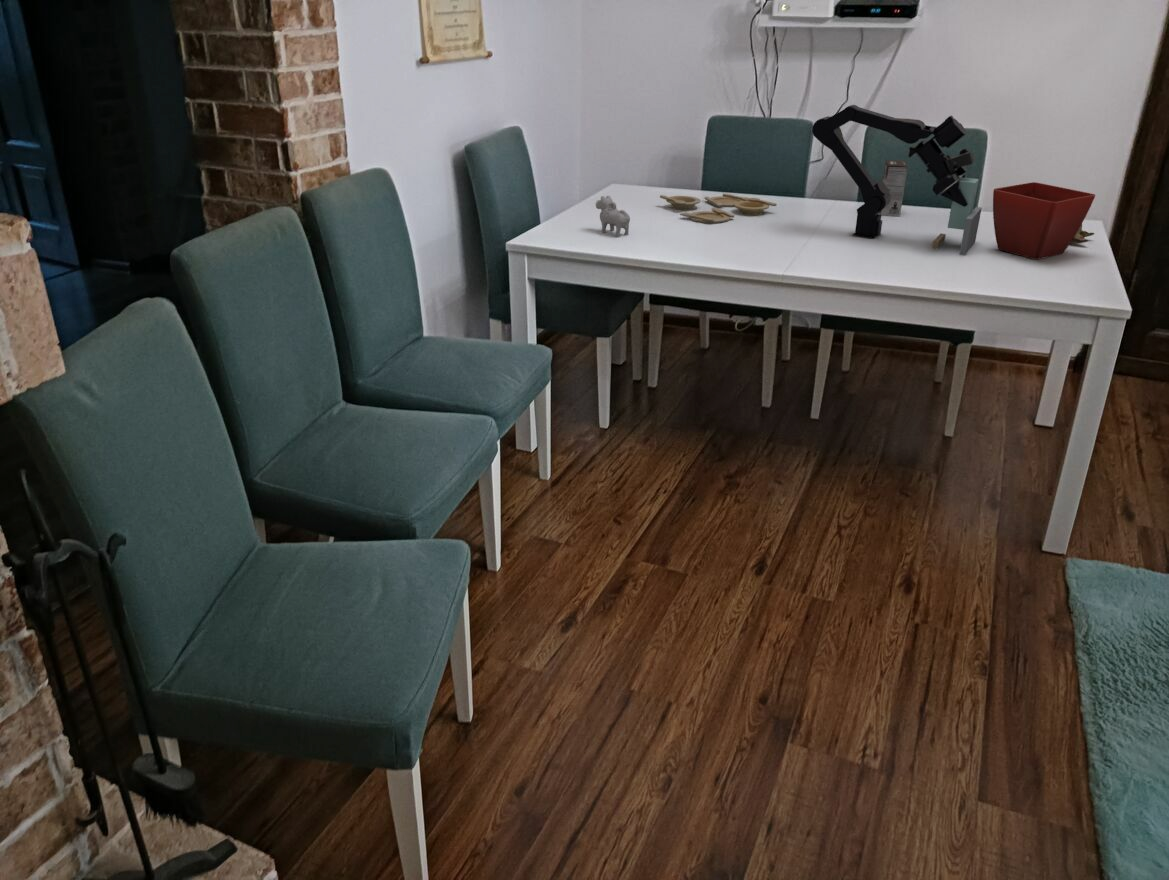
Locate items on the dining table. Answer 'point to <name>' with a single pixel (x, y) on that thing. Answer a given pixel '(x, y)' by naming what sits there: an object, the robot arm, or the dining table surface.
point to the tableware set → (716, 215)
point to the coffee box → (894, 186)
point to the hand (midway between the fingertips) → (968, 203)
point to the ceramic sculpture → (1081, 236)
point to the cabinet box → (959, 211)
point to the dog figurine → (612, 216)
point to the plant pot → (1038, 218)
